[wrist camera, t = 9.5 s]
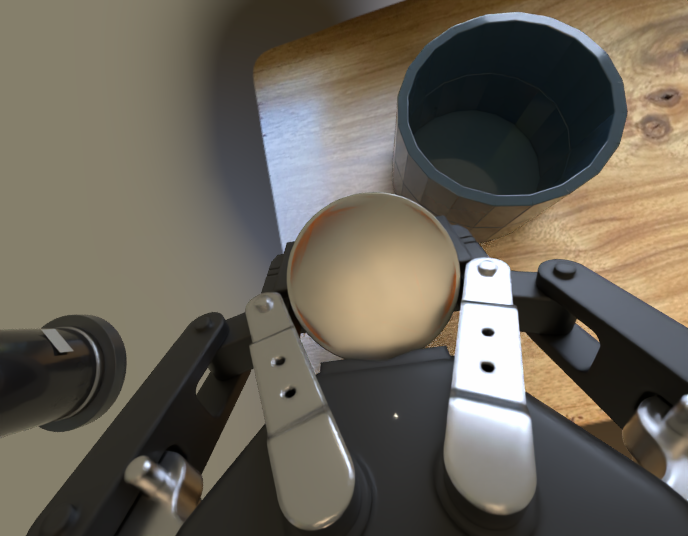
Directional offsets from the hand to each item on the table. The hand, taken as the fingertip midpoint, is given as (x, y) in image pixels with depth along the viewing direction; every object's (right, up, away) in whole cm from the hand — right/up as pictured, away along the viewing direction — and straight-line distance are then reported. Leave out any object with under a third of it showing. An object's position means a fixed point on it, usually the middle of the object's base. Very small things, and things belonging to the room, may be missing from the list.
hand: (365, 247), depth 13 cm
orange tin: (+1, -2, +4) cm, 5 cm away
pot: (+10, +8, +14) cm, 19 cm away
